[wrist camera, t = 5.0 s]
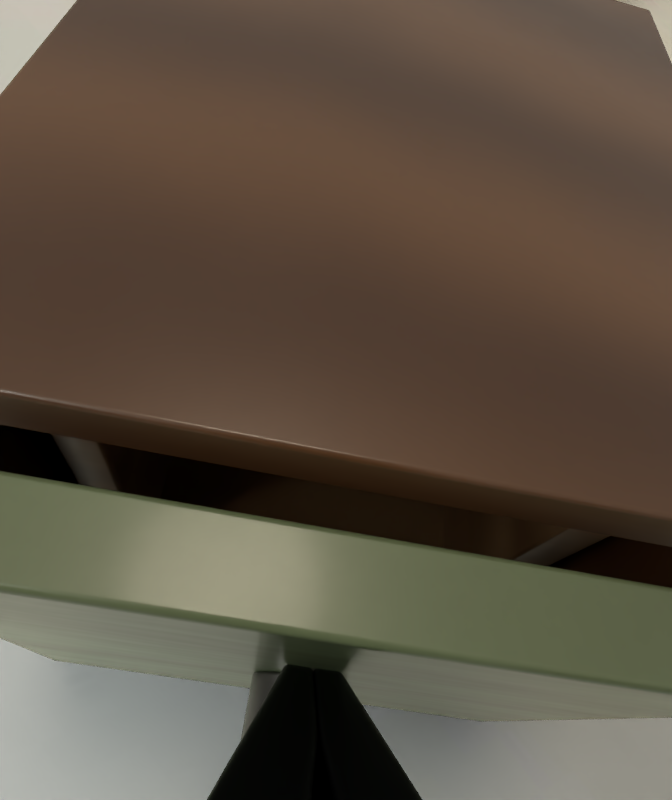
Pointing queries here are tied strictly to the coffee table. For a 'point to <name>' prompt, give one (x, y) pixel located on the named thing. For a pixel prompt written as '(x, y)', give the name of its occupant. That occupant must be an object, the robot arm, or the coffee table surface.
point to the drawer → (321, 591)
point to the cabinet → (353, 252)
